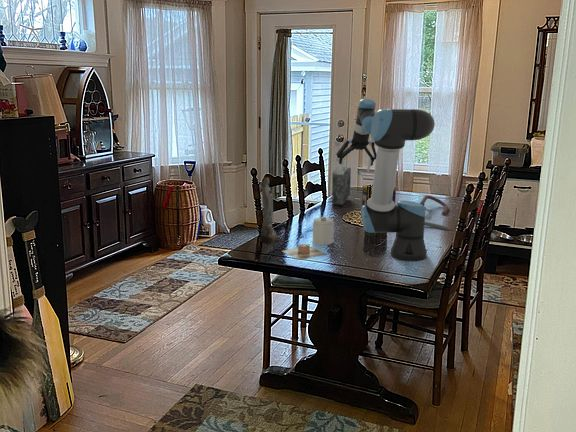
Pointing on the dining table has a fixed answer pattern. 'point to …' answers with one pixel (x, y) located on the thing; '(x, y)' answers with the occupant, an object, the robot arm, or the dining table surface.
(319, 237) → the white lidded jar
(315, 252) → the board
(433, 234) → the dining table surface
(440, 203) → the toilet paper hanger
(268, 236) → the statue
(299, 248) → the peach rounded dome
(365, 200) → the supplement box
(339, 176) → the concrete block
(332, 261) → the dining table surface
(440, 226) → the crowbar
